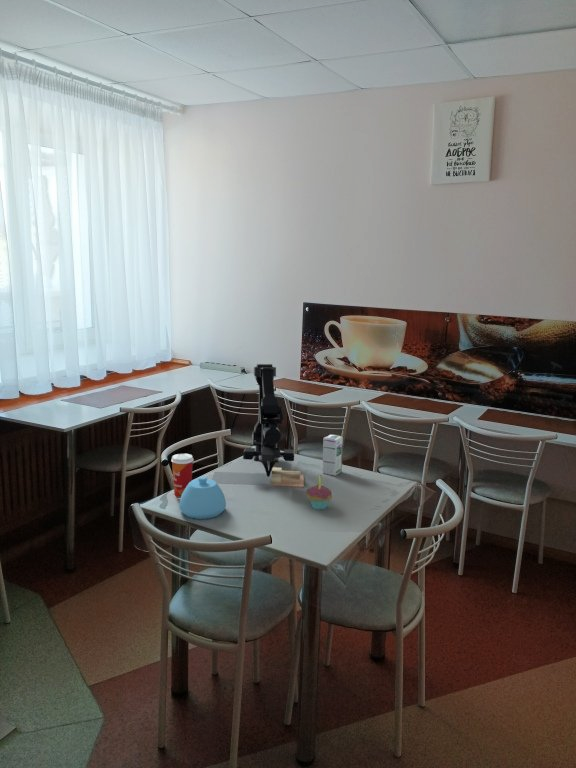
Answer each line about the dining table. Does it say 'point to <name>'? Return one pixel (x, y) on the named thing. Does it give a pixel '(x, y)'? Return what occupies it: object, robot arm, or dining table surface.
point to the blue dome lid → (202, 499)
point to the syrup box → (332, 454)
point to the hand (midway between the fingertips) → (268, 476)
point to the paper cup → (181, 472)
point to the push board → (251, 479)
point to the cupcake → (319, 496)
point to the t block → (284, 476)
